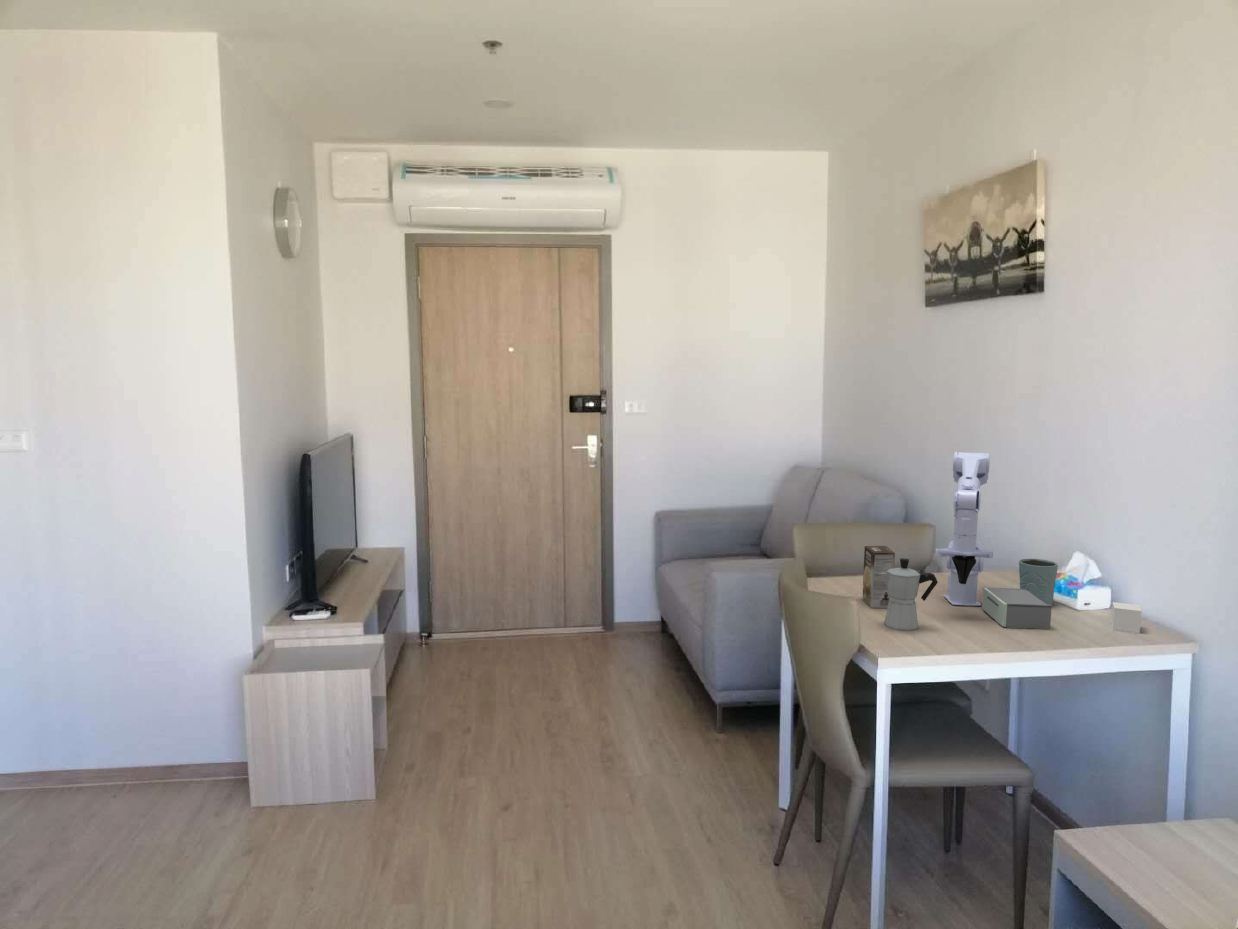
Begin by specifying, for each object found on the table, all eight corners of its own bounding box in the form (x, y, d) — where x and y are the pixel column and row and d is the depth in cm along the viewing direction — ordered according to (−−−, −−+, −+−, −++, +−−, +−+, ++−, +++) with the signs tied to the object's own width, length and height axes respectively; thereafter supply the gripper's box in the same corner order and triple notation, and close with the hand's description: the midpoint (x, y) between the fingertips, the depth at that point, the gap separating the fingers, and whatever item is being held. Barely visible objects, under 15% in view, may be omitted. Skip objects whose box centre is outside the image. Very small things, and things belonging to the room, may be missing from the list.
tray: (981, 608, 234) (982, 587, 233) (1022, 609, 233) (1023, 589, 232) (1001, 626, 218) (1003, 604, 217) (1046, 628, 217) (1047, 605, 216)
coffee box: (861, 599, 244) (863, 545, 242) (883, 599, 244) (885, 545, 242) (870, 608, 235) (873, 552, 233) (893, 608, 235) (896, 552, 233)
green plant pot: (1027, 607, 236) (1030, 566, 235) (1009, 597, 246) (1012, 558, 245) (1062, 607, 236) (1065, 566, 235) (1043, 597, 246) (1046, 557, 245)
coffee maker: (879, 629, 216) (882, 561, 214) (873, 619, 225) (876, 554, 223) (939, 632, 214) (942, 564, 212) (931, 622, 223) (934, 556, 220)
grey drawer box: (985, 609, 234) (986, 587, 233) (1026, 611, 233) (1027, 589, 232) (1006, 627, 218) (1007, 604, 217) (1050, 629, 217) (1051, 605, 216)
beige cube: (1137, 627, 220) (1139, 605, 219) (1139, 633, 214) (1141, 611, 213) (1110, 623, 222) (1112, 602, 221) (1112, 630, 217) (1114, 607, 216)
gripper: (941, 536, 221) (939, 586, 223) (998, 537, 220) (995, 588, 222) (934, 531, 228) (931, 579, 230) (989, 532, 227) (986, 581, 229)
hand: (962, 583), depth 226 cm, fingers closed
